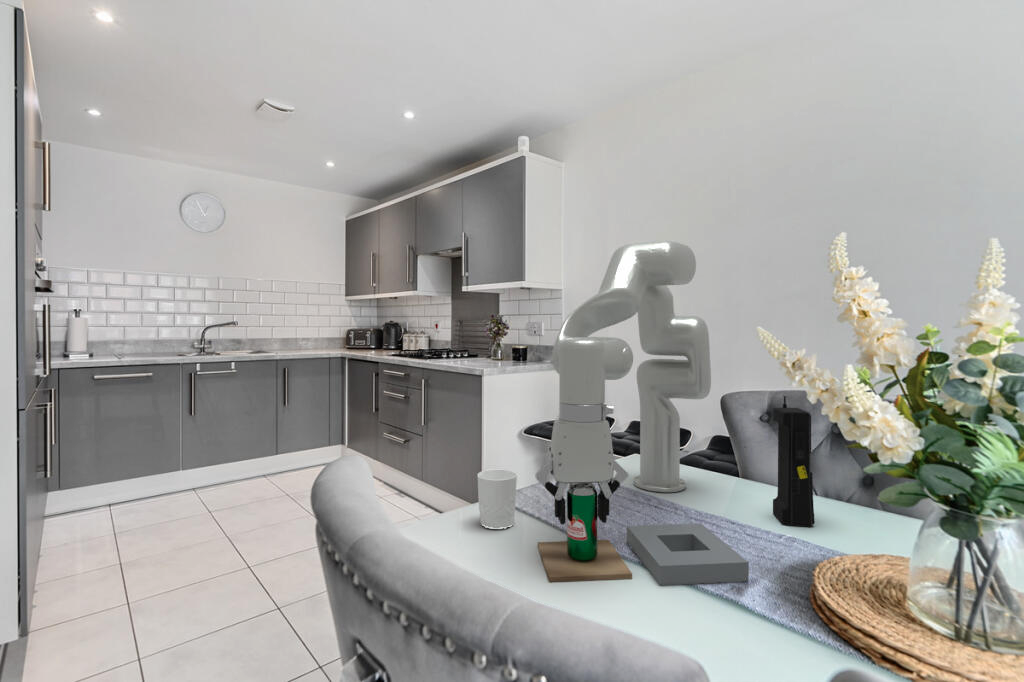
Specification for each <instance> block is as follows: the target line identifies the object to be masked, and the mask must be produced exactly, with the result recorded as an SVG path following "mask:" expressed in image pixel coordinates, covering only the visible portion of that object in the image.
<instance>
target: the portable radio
mask: <svg viewBox="0 0 1024 682" xmlns="http://www.w3.org/2000/svg"><path fill="white" fill-rule="evenodd" d="M786 397H787V395H783V403H782V407H774V408H773V421H774V422H776V423H777V425H778V427H777V428H778V429H777V435H778V436H777V437H778V438H777V496H776V498H772V514H773V516H774V517H775V518H776V519H777V520H778V521H779V523H780V524H781V525H786V526H793V527H804V528H805V527H808V528H811V527H813V525H815V522H816V521H815V510H814V506H815V505H814V489H813V488H814V487H813V485H814V484H813V472H811V454H812V415H811V413H810V412H809V411H806V410H804V409H801V408H799V407H788V405H787V403H786V401H787V400H786Z"/></svg>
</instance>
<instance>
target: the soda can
mask: <svg viewBox="0 0 1024 682" xmlns="http://www.w3.org/2000/svg"><path fill="white" fill-rule="evenodd" d="M598 538H599V537H598V491H597V489H596V484H595V483H568V488H567V489H566V541H567V554H568V555H569V556H570V558H572V559H573V560H576V561H580V562H587V561H591V560H593V559H594V558H595V557H596V556H597V554H598V540H599V539H598Z"/></svg>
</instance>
